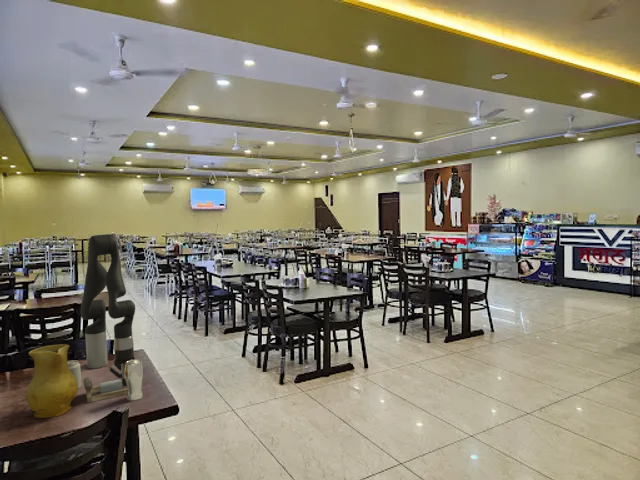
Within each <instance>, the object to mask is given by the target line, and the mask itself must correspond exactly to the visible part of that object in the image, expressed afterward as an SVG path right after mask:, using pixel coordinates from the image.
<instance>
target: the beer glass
mask: <svg viewBox="0 0 640 480" xmlns="http://www.w3.org/2000/svg"><path fill="white" fill-rule="evenodd" d="M143 371H144V368H143V360H141V359H135V360H130V361H127V362H125V370H124V373H125V381H126V385H127V386H126V387H127V388H126V389H128V394H126V399H127V401H131V402H133V401H137V400H140V399H142V398H143V397H144V394H143V391H142V390H143V389H142V383H143V377H144V375H143V374H144V372H143Z"/></svg>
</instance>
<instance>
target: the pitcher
mask: <svg viewBox="0 0 640 480" xmlns="http://www.w3.org/2000/svg"><path fill="white" fill-rule="evenodd" d="M70 346H71V345H70V344H62V343H61V344H51V345H44V346H41V347H38V348H34V349H32V350H30V351H29V352H28V355H29V357H31V358H32V359H33V361H34V374H33V378H32V380H30V383H29V384H28V386H27V388H26V392H25V393H26V396H25V397H26V399H25V400H26V402H27V406H28V407H29V409H30V410H31V411H33V412H34V415H33V416H34V417H35V418H40V419H43V418H44V419H47V418H55V417H58V416H61V415H64V414H66V413H68V412H69V411H70V410H71V409H72V404H71V403H72V401H73V400H74V399H75V397H77V393H78V390H79V389H78V383H77V379H76V378H75V376H74V375H73V374H72V373H71V371H70V369H69V366H68V361H69V360H68V351H69V348H70Z"/></svg>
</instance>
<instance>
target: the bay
mask: <svg viewBox="0 0 640 480" xmlns="http://www.w3.org/2000/svg"><path fill="white" fill-rule="evenodd" d="M121 383H122V380H121ZM83 386H84V389H85V395H86V402H87V404H89V403H93V402H97V401H102V400H107V399H112V398H116V397H120V396H124V395H127V394H128V389H127V388H122V390H118V391H113V392H109V393H104V394H101V393H99V394H96V395H92V393H97V392H100V385H97V386H93V383H92V378H91V377H90V376H86V377H84V379H83ZM122 387H124V386H123V384H122Z"/></svg>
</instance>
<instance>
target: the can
mask: <svg viewBox="0 0 640 480" xmlns="http://www.w3.org/2000/svg"><path fill="white" fill-rule="evenodd" d="M67 361H68V366H69V369H70V371H71V373H72V374H73V375H74V376H75V378H76V379H77V383H78V390H79V389H80V388H81V387H82V373H81V372H82V371H81V370H82V369H81V363H79V360H76V359H75V360H73V359H72V360H67Z"/></svg>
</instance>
